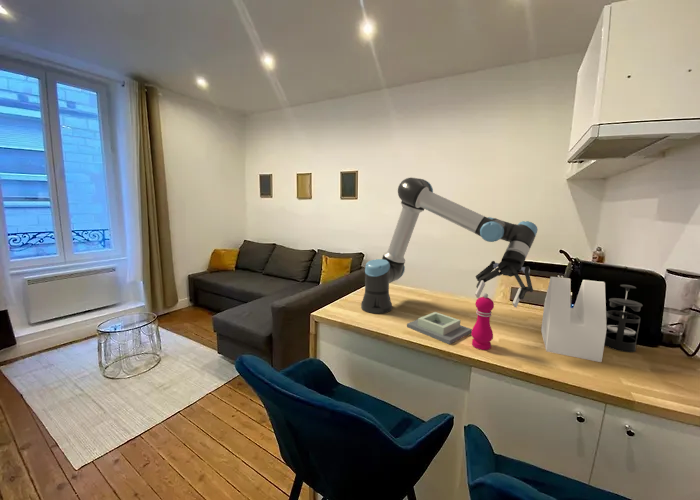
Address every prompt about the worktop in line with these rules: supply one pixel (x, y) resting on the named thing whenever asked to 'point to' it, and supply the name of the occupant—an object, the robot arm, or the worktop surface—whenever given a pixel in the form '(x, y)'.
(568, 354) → the white notched cradle block
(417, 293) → the worktop surface
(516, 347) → the worktop surface
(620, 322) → the french press
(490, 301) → the pepper mill
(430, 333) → the socket board
